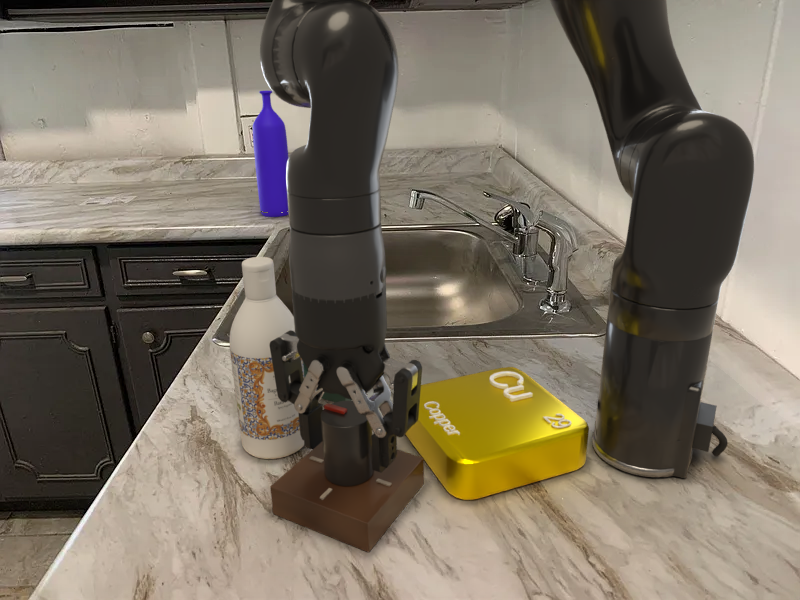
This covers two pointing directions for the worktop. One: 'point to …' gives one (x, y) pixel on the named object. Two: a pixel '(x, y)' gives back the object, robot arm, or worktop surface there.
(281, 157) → the bottle
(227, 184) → the worktop surface
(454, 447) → the element tile
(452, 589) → the worktop surface
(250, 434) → the bath foam
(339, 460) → the dial
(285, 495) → the dial panel
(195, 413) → the worktop surface
